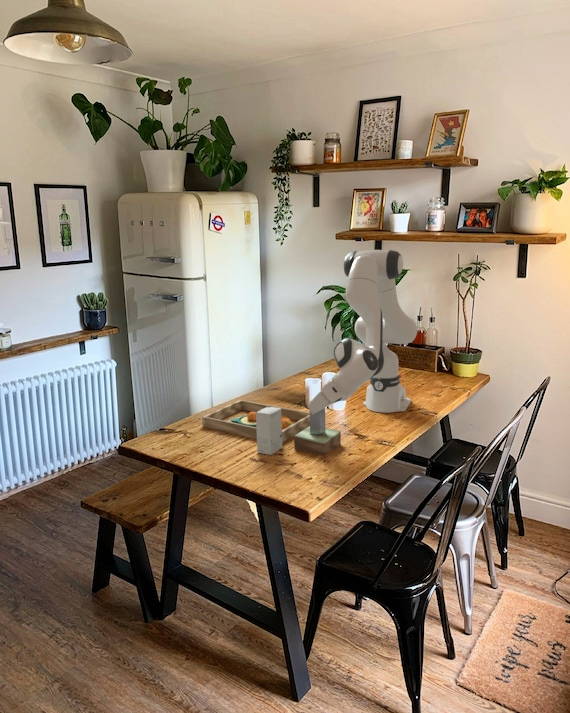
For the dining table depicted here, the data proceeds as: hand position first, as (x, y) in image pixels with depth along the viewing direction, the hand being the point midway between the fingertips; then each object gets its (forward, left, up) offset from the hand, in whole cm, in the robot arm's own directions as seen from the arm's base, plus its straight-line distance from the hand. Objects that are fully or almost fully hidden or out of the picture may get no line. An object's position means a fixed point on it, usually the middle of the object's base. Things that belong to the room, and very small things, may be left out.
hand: (315, 410), depth 213 cm
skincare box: (+11, -12, -14) cm, 21 cm away
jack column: (0, +1, -8) cm, 8 cm away
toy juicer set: (-6, -29, -14) cm, 33 cm away
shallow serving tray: (-8, -30, -13) cm, 34 cm away
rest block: (0, +1, -13) cm, 13 cm away
